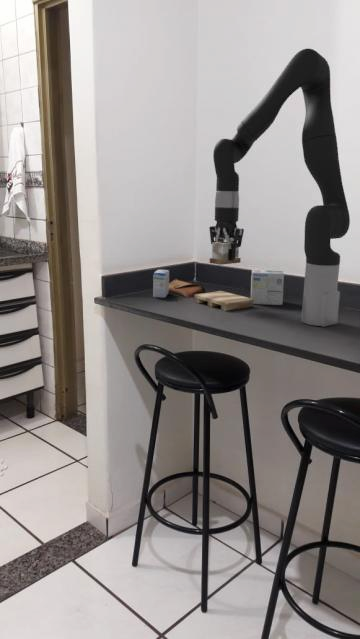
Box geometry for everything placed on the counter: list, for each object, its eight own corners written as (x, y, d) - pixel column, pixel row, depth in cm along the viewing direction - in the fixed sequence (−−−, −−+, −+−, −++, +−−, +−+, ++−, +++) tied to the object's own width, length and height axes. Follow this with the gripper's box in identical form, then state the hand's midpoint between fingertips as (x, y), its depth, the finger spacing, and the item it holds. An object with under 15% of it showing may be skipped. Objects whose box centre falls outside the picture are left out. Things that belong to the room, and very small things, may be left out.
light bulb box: (281, 301, 177) (283, 270, 174) (282, 305, 171) (285, 273, 168) (249, 300, 178) (251, 269, 175) (250, 304, 172) (252, 272, 169)
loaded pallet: (240, 262, 168) (241, 242, 166) (220, 264, 162) (221, 243, 161) (229, 260, 172) (230, 241, 170) (209, 262, 166) (209, 242, 164)
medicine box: (156, 292, 187) (157, 269, 185) (169, 293, 186) (169, 269, 184) (152, 297, 179) (152, 272, 177) (165, 297, 179) (165, 273, 177)
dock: (253, 306, 168) (253, 299, 167) (226, 311, 161) (226, 303, 160) (220, 297, 180) (221, 290, 180) (194, 301, 173) (194, 294, 173)
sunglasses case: (157, 289, 193) (164, 273, 193) (170, 296, 197) (177, 281, 198) (187, 298, 179) (195, 280, 180) (200, 305, 184) (208, 289, 184)
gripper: (251, 206, 159) (249, 261, 163) (220, 205, 170) (218, 256, 174) (234, 206, 155) (231, 263, 159) (203, 205, 166) (201, 258, 170)
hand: (225, 259), depth 167 cm, fingers closed on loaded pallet, 5 cm apart
